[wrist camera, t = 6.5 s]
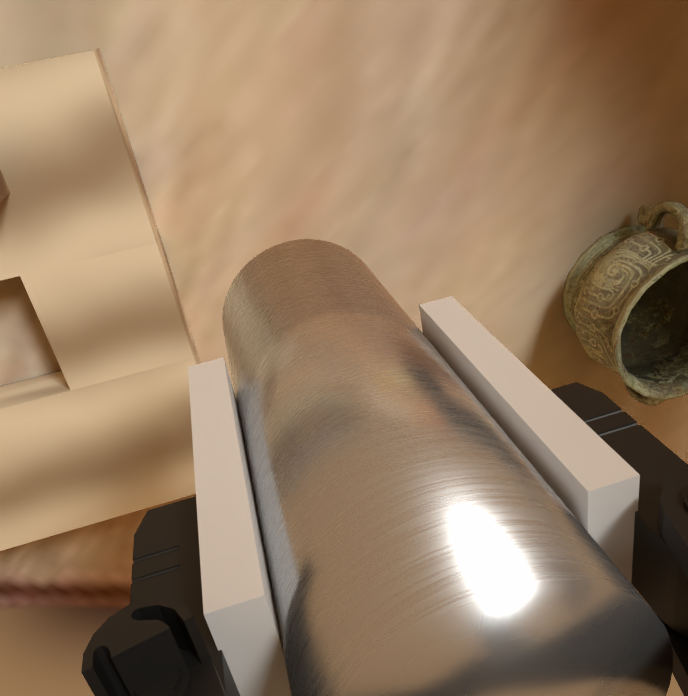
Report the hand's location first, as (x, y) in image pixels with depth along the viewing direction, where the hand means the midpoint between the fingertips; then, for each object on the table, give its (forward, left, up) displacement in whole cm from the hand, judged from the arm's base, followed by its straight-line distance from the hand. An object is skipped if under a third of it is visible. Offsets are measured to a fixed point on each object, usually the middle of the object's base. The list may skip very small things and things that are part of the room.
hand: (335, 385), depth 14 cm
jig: (+4, -13, -20) cm, 24 cm away
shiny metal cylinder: (0, 0, -4) cm, 4 cm away
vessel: (+11, +21, -20) cm, 31 cm away
